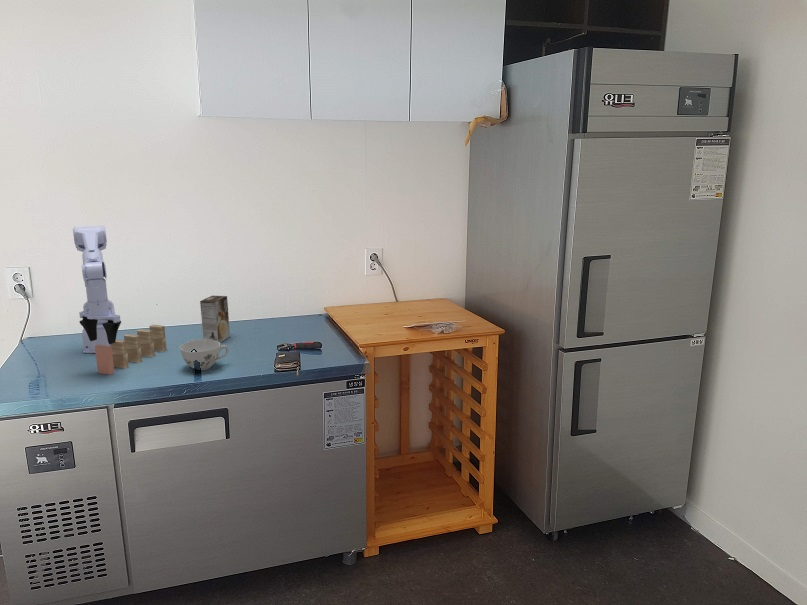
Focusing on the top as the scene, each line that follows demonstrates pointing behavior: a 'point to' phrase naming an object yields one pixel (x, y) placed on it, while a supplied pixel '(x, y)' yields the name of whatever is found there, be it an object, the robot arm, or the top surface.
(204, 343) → the teacup
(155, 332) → the domino
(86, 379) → the top surface
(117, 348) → the domino
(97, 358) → the end domino
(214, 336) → the coffee box
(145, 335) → the domino
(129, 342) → the domino
